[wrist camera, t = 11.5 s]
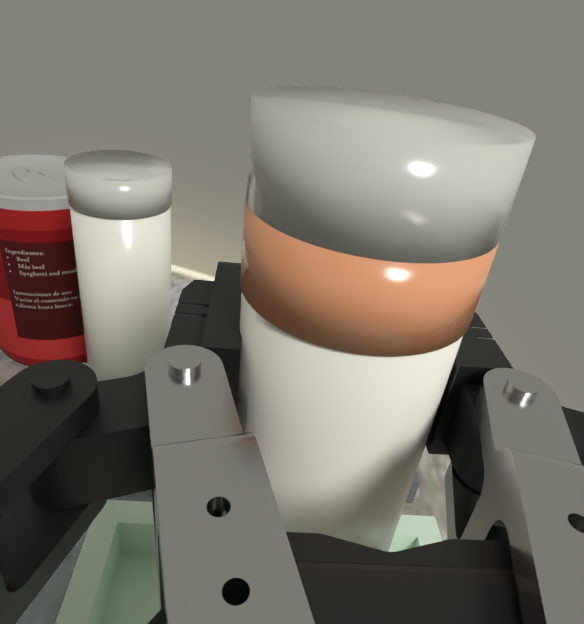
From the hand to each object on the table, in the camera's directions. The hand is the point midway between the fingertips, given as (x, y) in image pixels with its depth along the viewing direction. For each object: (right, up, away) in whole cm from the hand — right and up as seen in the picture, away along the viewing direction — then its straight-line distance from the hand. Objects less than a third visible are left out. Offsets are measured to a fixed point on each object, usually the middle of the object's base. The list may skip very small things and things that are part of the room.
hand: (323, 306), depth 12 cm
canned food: (-16, -2, +22) cm, 27 cm away
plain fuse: (-9, -5, +15) cm, 18 cm away
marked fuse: (-1, -8, +2) cm, 8 cm away
